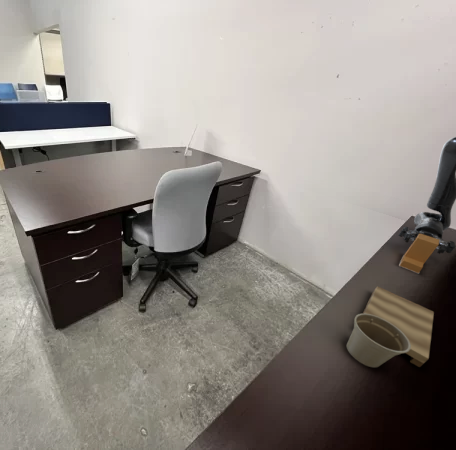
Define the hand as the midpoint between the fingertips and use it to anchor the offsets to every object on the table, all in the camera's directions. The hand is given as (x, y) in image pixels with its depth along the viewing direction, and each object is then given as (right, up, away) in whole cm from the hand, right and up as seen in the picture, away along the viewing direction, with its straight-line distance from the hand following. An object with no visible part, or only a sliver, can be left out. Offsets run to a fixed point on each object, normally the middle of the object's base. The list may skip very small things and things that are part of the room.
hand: (423, 245), depth 85 cm
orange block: (-2, -8, +2) cm, 8 cm away
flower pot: (-48, -23, -30) cm, 61 cm away
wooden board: (-34, -19, -22) cm, 45 cm away
